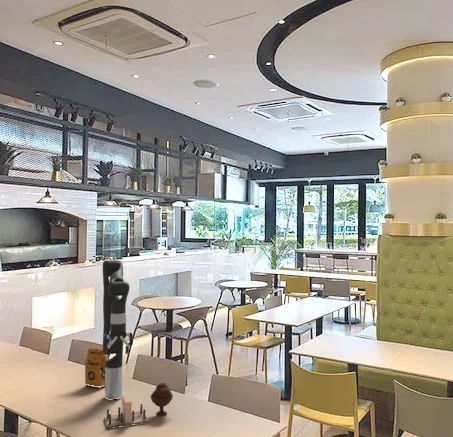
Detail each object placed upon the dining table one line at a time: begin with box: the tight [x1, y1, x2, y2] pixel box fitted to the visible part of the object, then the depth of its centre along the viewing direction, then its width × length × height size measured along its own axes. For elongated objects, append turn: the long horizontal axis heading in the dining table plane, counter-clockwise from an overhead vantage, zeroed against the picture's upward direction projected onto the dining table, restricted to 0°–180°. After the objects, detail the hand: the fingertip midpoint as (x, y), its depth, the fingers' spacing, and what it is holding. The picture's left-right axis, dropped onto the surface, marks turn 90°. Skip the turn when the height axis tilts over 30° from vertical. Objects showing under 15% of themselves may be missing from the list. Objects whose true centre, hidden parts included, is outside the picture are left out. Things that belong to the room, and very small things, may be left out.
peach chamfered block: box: [121, 394, 132, 423], centre depth 221 cm, size 10×3×10 cm, turn 23°
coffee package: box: [84, 347, 107, 386], centre depth 270 cm, size 10×12×22 cm
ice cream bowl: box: [150, 382, 174, 417], centre depth 229 cm, size 11×11×15 cm
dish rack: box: [103, 403, 149, 429], centre depth 221 cm, size 12×19×6 cm, turn 112°
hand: (117, 354), depth 228 cm, fingers open, 8 cm apart
